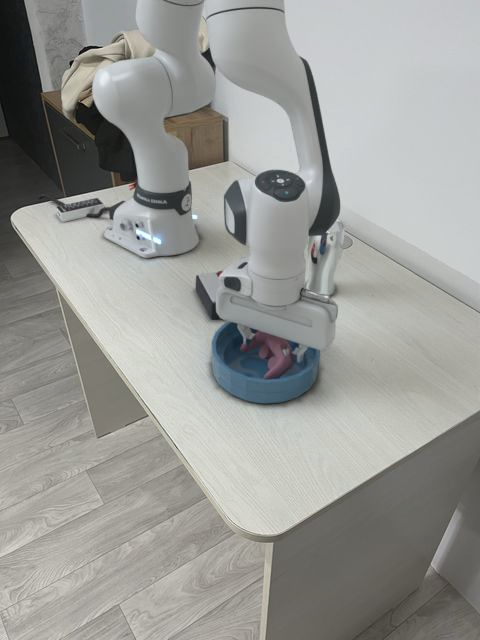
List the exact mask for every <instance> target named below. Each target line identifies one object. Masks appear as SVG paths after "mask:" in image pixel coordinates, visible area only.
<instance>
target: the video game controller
mask: <svg viewBox="0 0 480 640" xmlns="http://www.w3.org/2000/svg"><path fill="white" fill-rule="evenodd" d="M255 334H256V337H255V339H256V341H255V344H253V346H252V347H251V346H247V345H244V343H243V344H242V346H241V348H240V349H241V351H242V352H249V351H252V350H254V349H256V348H257V347H259V346H260V350H259V356H260V357H261V358H263V359H269V361H268V368H269V369H270V370H269V371H268V372H267V373H266V374H265V376H264V379H265V380H267V379H278V378H280V377H281V376H282V375H283V374H284V373H285V372H286V371H287V370H289V369H291V368H292V367H293V366H294V364H295V361H293V360H292V353H293V352H292V350H291V347H290V345H289V343H288V342H287V340H286V339H283V338H280V337H277V336H274V335H271V334H268V333H265V332H261V331H258V332H257V333H255ZM272 353H273V354H274V355H275V357H271V356H272ZM270 357H271V358H270Z"/></svg>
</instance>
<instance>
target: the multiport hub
mask: <svg viewBox="0 0 480 640" xmlns="http://www.w3.org/2000/svg"><path fill="white" fill-rule="evenodd" d="M65 204H66V205H57V206H55V211H56V215H57V217H58V219H59V220H60V221H61V222H63V223H65V222H69V221H74V220H78V219H82V218H88V217H87V216H86V215H87V214H98V213H99V211H100V210H101V209H102V208H105V204H104V202H103V201H102V200H101V199H100V198H99V197H94V198H90V199H85V200H80V201H76V202H72V203H65ZM105 213H106V211H105V212H103V214H105Z"/></svg>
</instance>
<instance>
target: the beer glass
mask: <svg viewBox="0 0 480 640" xmlns="http://www.w3.org/2000/svg"><path fill="white" fill-rule="evenodd" d="M345 224H346V223H344V222H343V221H342V220H341V219H338V218H337V220H336V221H335V223H334V224H333V225H332V227H331V228H330V229H329V230H328V231H327V232H326V233H325V234H323V235H321V236H308V242H307V258H308V278H307V281H306V282H305V289H307V290H311V291H314V292H316V293H319V294H325V295H328V296H330V297H331V295H333V294H334V293H335V275H336V271H337V269H338V266H339V264H340V260H341V258H342V254H343V249H344V243H345V235H346V234H345V233H346V225H345Z"/></svg>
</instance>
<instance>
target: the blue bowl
mask: <svg viewBox="0 0 480 640" xmlns="http://www.w3.org/2000/svg"><path fill="white" fill-rule="evenodd" d="M250 330H251V332H252V333H254V334H255V333H257V332H258V330H255V329H252V328H250ZM287 342H288V343H289V345H290V347H291V350H292V352H293V351H295V349H296V347H297V348H299V343H296V342H293V341H290V340H287ZM243 343H244V340H243V336H242V335H241V333H240V331H239V330H238V328H237V323H233V322H230V321H226V322H225V323H223V324H222V325H221V326H220V327H219V328H218V329H217V330H216V331H215V333H214V335H213V337H212V340H211V366H212V375H213V377H214V378H215V380H216V382H217V383H218V385H219V386H220V387H221V388H222V389H224V390H225V392H228V393H229V394H230V395H232V396H234V397H236V398H238V399H241V400H244V401H247V402H251V403H258V404H276V403H277V404H279V403H285V402H287V401H291V400H294V399H297V398H298V397H300V396H302V395H303V394H304V393H306V392H307V391H309V390H310V389H311V387H312V386H313V384H314V383H315V382H316V380H317V378H318V371H319V365H320V357H321V350H317V349H314V348H311V347H308V349H307V350H306V351H305V352H304V357H303V360H302V361H301V362H300V363H298V362H295V364H294V366H293V367H292V368H291V369H289V370H287V371H286V372H285V373H284V374H283V375H282V376H281V377H280V378H278V379H267V380H265V379H264V376H265V374H266V373H267V372H268V371H269V370H270V369H269V368H268V361H269V359H263V358H261V357H260V356H259V350H260V346H259V347H257V348H256V349H254V350H252V351H249V352H242V351H241V349H240V348H241V346H242V344H243ZM300 349H301V348H300ZM271 357H275V355H274V354H273V353H272V356H271ZM271 357H270V358H271Z"/></svg>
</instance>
